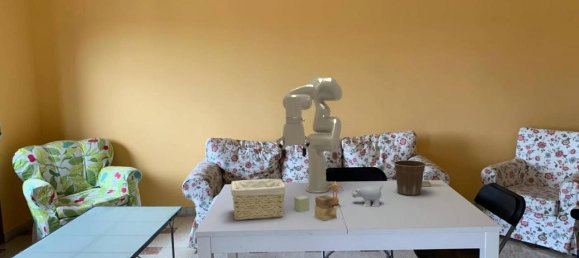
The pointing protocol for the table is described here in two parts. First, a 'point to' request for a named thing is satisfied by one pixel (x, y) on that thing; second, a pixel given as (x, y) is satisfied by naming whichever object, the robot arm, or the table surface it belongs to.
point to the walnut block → (324, 201)
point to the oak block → (325, 213)
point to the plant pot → (409, 176)
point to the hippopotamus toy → (369, 195)
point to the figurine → (336, 192)
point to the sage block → (301, 203)
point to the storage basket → (258, 198)
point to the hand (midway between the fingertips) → (294, 157)
